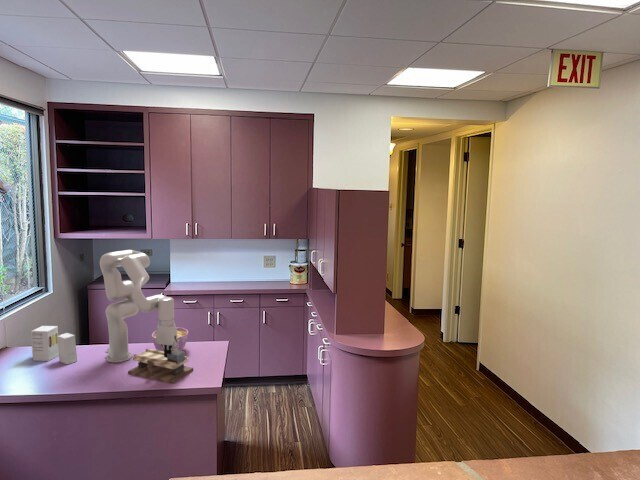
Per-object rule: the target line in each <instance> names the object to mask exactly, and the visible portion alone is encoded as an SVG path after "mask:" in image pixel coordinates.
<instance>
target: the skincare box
mask: <svg viewBox="0 0 640 480" xmlns="http://www.w3.org/2000/svg"><path fill="white" fill-rule="evenodd" d="M57 344H58V353H59V355H58V361H59V362H60V363H62V364H65V365H69V364H70V365H71V364H72V363H76V362H78V356H77V355H78V353H77V344H76V335H75V334H72V333H69V332H64V333H61V334H58V336H57Z"/></svg>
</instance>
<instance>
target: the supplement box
mask: <svg viewBox="0 0 640 480" xmlns="http://www.w3.org/2000/svg"><path fill="white" fill-rule="evenodd" d="M58 335H59V327H58V325H41V326H38V327H37V328H34V329H33V330H31V331H30V336H31V350H32V351H31V352H32V353H31V355H32V361H33V362H34V361H36V362H50V361H52V360H53V359H55V358H57V357H59V353H58V344H57V336H58Z"/></svg>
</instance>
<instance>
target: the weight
mask: <svg viewBox="0 0 640 480" xmlns="http://www.w3.org/2000/svg"><path fill="white" fill-rule="evenodd" d="M185 356H186V351H184V350H181V351H180V350H173V351H171V352H170V353H168V354H167V361H170V362H175V363H176V364H179V363H180V362H182V361H184V360H185Z"/></svg>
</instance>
